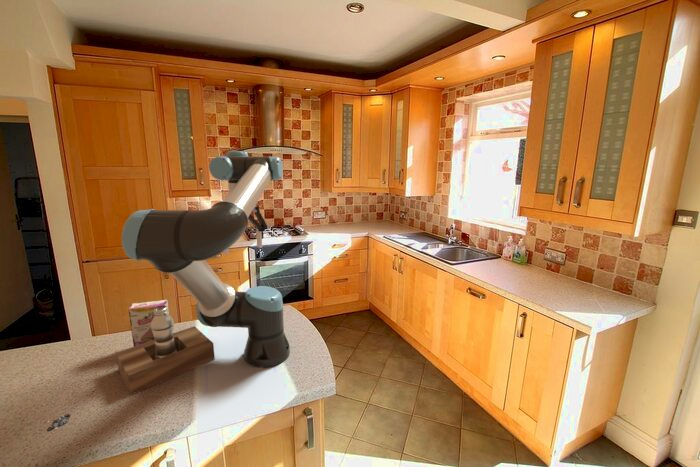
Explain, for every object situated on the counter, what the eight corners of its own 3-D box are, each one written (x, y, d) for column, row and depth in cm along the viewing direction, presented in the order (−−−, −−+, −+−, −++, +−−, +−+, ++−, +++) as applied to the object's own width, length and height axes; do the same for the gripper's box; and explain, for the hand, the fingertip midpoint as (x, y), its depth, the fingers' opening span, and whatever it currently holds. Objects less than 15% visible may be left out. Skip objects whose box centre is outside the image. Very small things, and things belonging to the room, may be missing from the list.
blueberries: (31, 437, 80) (29, 431, 79) (58, 411, 88) (56, 405, 87) (60, 437, 80) (58, 431, 80) (84, 410, 88) (83, 404, 87)
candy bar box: (134, 353, 113) (127, 309, 110) (137, 345, 118) (131, 303, 114) (170, 347, 117) (165, 304, 114) (172, 340, 122) (167, 298, 118)
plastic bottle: (170, 356, 112) (163, 301, 107) (183, 362, 109) (176, 305, 104) (151, 366, 106) (143, 309, 102) (164, 372, 103) (156, 314, 99)
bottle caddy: (214, 359, 110) (213, 343, 109) (131, 394, 94) (128, 375, 92) (196, 341, 121) (194, 326, 120) (118, 369, 104) (115, 352, 103)
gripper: (264, 191, 132) (267, 243, 136) (201, 196, 114) (206, 254, 119) (275, 193, 126) (277, 246, 131) (210, 197, 109) (215, 259, 114)
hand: (243, 250), depth 125 cm, fingers open, 13 cm apart
